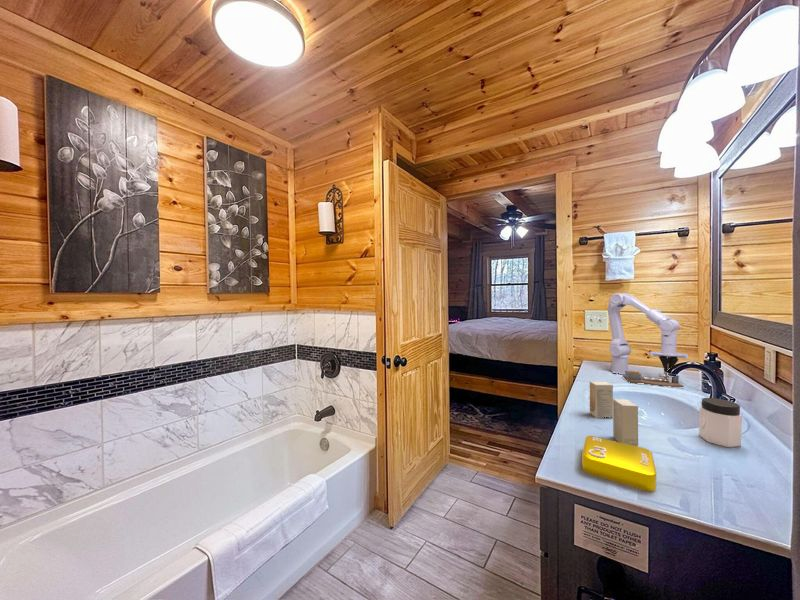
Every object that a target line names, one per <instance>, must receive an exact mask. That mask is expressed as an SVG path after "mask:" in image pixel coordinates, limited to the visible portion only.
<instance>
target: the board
mask: <svg viewBox="0 0 800 600" xmlns="http://www.w3.org/2000/svg"><path fill="white" fill-rule="evenodd" d="M621 375H622V376H623V377H624V378H625V379H626V380H627V382H628V383H629V382H630V383H629V384H631V383H644V384H651V385H650V386H653V385H663V386H662V387H664V386H671V387H670V388H674V387H684V388H685V386H684V385H683V384H681V383H679V384H676V383H669V382H667V381H655V380H645V379H644V378H643V377H644V376H641V381H639V380H628V379H627V378H626V377H625V374H621ZM622 376H621V377H622ZM623 377H622V378H623ZM624 378H623V379H624ZM649 378H653V377H651V376H649ZM660 378H661V377H660ZM625 379H624V380H625ZM661 379H664V377H662V378H661ZM626 380H625V381H626Z"/></svg>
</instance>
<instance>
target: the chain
mask: <svg viewBox="0 0 800 600" xmlns="http://www.w3.org/2000/svg"><path fill="white" fill-rule="evenodd" d="M663 374H664V375H668V372H665V371H664V370H663ZM642 377H643V378H644V379H645V380H655V381H667V382H669V383H672V376H668V377H663V379H661V377H652V378H649V377H650V376H649V377H648V376H642Z"/></svg>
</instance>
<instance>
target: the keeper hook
mask: <svg viewBox="0 0 800 600" xmlns="http://www.w3.org/2000/svg"><path fill="white" fill-rule="evenodd" d="M676 375H677V376H675V377H672V383H676V384H680V381H679V380H680V376H679V375H678V374H676ZM661 377H662V378H664V377H667V378H668V374H667V375H664V373H663V374H662V373H661V372H658V378H661Z"/></svg>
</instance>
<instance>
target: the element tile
mask: <svg viewBox="0 0 800 600" xmlns="http://www.w3.org/2000/svg"><path fill="white" fill-rule="evenodd" d="M581 469H582V471H583V470H584V471H583V472H585V473H586V472H587V473H586V474H588V473H589V474H588V475H591V474H592V475H591V476H594V475H596V476H595V477H598V476H599V477H598V478H601V477H602V479H606V480H609V481H613V482H615V483H618V482H619V484H623V485H625V486H629V487H632V488H637V489H638V490H642V491H646V492H655V491H656V490H657V471H656V465H655V461H654V455H653V453H652V452H651V450H649V449H648V448H646V447H641V446H639V445H638V446H633V445H629V444H625V443H620V442H618V441H617V440H616V441H615V440H611V439H607V438H603V437H598V436H594V435H587V436H586V437H585V438H584V443H583V449H582V454H581Z"/></svg>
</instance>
